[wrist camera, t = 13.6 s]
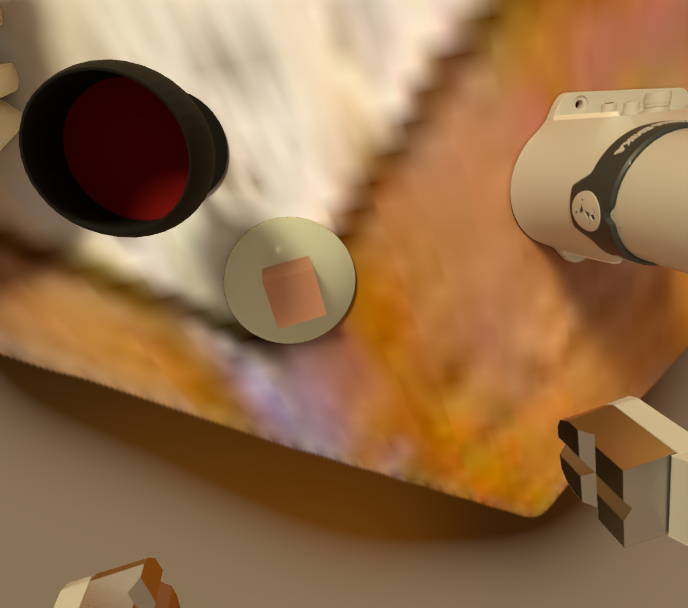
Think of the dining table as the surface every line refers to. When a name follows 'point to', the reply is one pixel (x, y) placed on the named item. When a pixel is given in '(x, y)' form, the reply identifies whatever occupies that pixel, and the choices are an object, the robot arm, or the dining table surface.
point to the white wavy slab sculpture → (3, 118)
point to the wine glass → (120, 148)
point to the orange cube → (293, 292)
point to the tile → (278, 247)
